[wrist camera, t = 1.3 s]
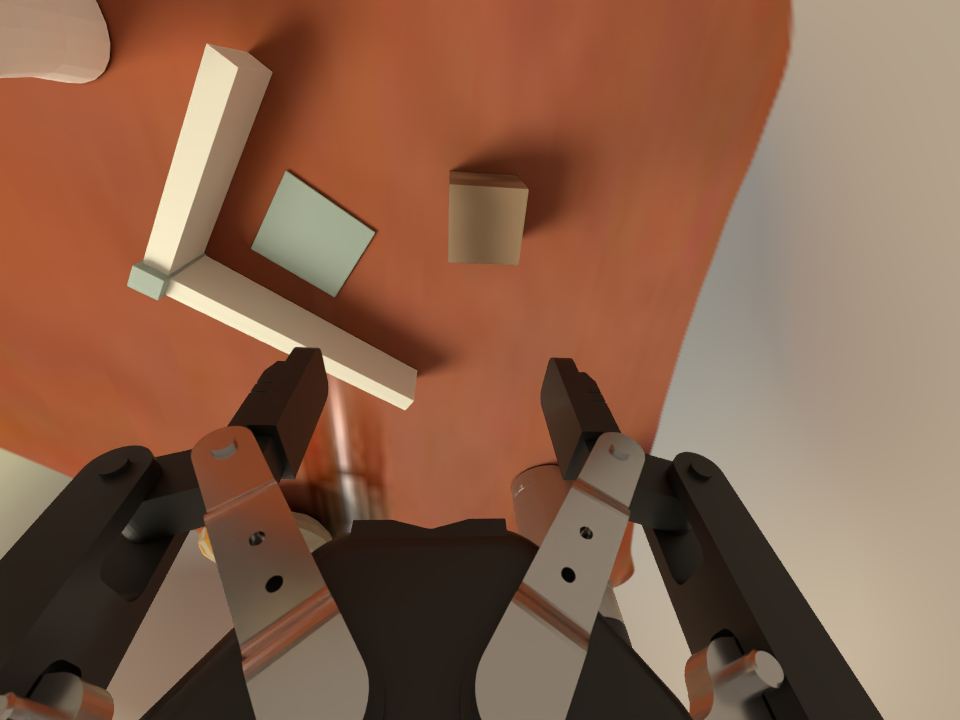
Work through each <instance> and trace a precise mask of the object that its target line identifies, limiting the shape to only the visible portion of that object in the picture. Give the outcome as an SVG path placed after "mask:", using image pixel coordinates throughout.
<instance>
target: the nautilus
mask: <svg viewBox="0 0 960 720" xmlns="http://www.w3.org/2000/svg"><path fill="white" fill-rule="evenodd" d="M292 514H293V517H294V519H295V521H296V523H297V525H298V527H299V529H300V531H301V533H302V535H303V537H304V540H305V542H306V544H307V546H308V548H309V550H310V552H311V553H312V552H313V551H314V550H315V549H317V548H318V547H320V546H322V545H323V544H325V543H326V542H328V541H330V540H332V537H331V534H330V533H329V532H328V531H327V530H326V529H325V528H324V527H323V526H322V525H321V524H320V523H319V522H318V521H317V520H315V519H314V518H312V517H310V516H308V515H306V514H301V513H296V512H292ZM198 545H199V547H200V549H201V551H202V553H203V555H204V556H206V557H207V558H209V559H210V560H212V561H214V562H216V561H215V557H214V554H213V550H212V547H211V543H210V540H209V536H208V533H207V529H206V527H205V528H204V529H203V530H202V531H201V532H200V535H199V540H198Z"/></svg>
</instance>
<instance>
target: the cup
mask: <svg viewBox="0 0 960 720" xmlns="http://www.w3.org/2000/svg"><path fill="white" fill-rule="evenodd" d="M109 59H110V39H109V35H108V30H107V25H106V22H105V20H104V17H103V15H102V13H101V10H100V8H99V6H98V3H97V2H96V0H0V78H16V77H36V78H42V79H49V80H55V81H61V82H67V83H86V82H89V81H92V80H96V79H97V78H98V77H99V76H100V75H101V74H102V73H103V72H104V71H105V69H106V66H107V64H108V62H109Z"/></svg>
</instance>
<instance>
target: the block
mask: <svg viewBox="0 0 960 720" xmlns="http://www.w3.org/2000/svg"><path fill="white" fill-rule="evenodd" d="M528 192H529V189H528V188H527V186H526V185H525V184H524V183H523V182H522V180H521V179H520V178H519V177H518V176H517V175H505V174H490V173H475V172H460V171H450V176H449V234H448V262H452V263H476V264H500V265H518V264H519V257H520V250H521V243H522V235H523V228H524V221H525V214H526V207H527V199H528Z"/></svg>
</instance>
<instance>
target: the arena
mask: <svg viewBox="0 0 960 720" xmlns="http://www.w3.org/2000/svg"><path fill="white" fill-rule="evenodd" d="M272 73H273V72H272V71H271V70H269V69H268V68H267V67H266V66H264V65H263V64H262V63H261V62H259V61H258V60H257V59H256V58H254V57H253V56H252V55H251V54H249V53H248V52H245V51H240V50H235V49H231V48H226V47H221V46H217V45H212V44H206V47H205V51H204V54H203V58H202V61H201V64H200V68H199V71H198V75H197V78H196V82H195V85H194V88H193V92H192V95H191V99H190V102H189V106H188V109H187V112H186V116H185V119H184V123H183V126H182V130H181V133H180V137H179V140H178V143H177V147H176V150H175V154H174V157H173V161H172V164H171V167H170V171H169V174H168V178H167V181H166V185H165V188H164V192H163V195H162V198H161V202H160V205H159V209H158V212H157V216H156V219H155V222H154V226H153V229H152V233H151V236H150V240H149V243H148V246H147V250H146V253H145V257H144V260H142V261H140V262H138V263H137V264H135V265H133V266H132V270H131V273H130V277H129V281H128V284H127V286H128V287H130V288H133V289H135V290H137V291H139V292H141V293H143V294H145V295H147V296H149V297H152V298H154V299H156V300H159V299H160V298H162V297H163V296H165V295H167V296H169V297H171V298H173V299H175V300H177V301H179V302H182V303H184V304H186V305H188V306H190V307H192V308H194V309H196V310H198V311H200V312H202V313H204V314H206V315H209V316H211V317H213V318H215V319H217V320H219V321H221V322H223V323H225V324H227V325H229V326H231V327H233V328H235V329H238V330H240V331H242V332H244V333H246V334H248V335H250V336H252V337H254V338H256V339H258V340H260V341H262V342H265V343H267V344H269V345H271V346H273V347H275V348H277V349H279V350H281V351H283V352H285V353H287V354H289V355H290V353H291V351H292V350H293V348H295V347H312V348H320V349H321V352H322V356H323V361H324V366H325V370H326V372H327V373H329V374H331V375H333V376H335V377H337V378H339V379H341V380H343V381H345V382H347V383H350V384H352V385H354V386H356V387H358V388H360V389H362V390H364V391H366V392H368V393H370V394H372V395H374V396H377V397H379V398H381V399H383V400H385V401H387V402H389V403H391V404H393V405H395V406H397V407H399V408H401V409H403V410H406V409H407V408H408V407H409V406H410V404H411V403H412V402H413V401H414V396H415V387H416V379H417V370H415V369H413V368H412V367H410V366H408V365H406V364H404V363H402V362H401V361H399V360H397V359H395V358H393V357H391V356H390V355H388V354H386V353H384V352H382V351H380V350H379V349H377V348H375V347H373V346H371V345H369V344H368V343H366V342H364V341H362V340H360V339H358V338H356V337H355V336H353V335H351V334H349V333H347V332H345V331H344V330H342V329H340V328H338V327H336V326H334V325H333V324H331V323H329V322H327V321H325V320H323V319H322V318H320V317H318V316H316V315H314V314H312V313H311V312H309V311H307V310H305V309H303V308H301V307H300V306H298V305H296V304H294V303H292V302H290V301H289V300H287V299H285V298H283V297H281V296H279V295H278V294H276V293H274V292H272V291H270V290H268V289H267V288H265V287H263V286H261V285H259V284H257V283H256V282H254V281H252V280H250V279H248V278H246V277H245V276H243V275H241V274H239V273H237V272H235V271H234V270H232V269H230V268H228V267H226V266H224V265H222V264H221V263H219V262H217V261H215V260H213V259H211V258H210V257H208V256H206V253H204V252H205V249H206V246H207V244H208V241H209V239H210V236H211V233H212V231H213V228H214V225H215V223H216V220H217V218H218V215H219V212H220V210H221V207H222V204H223V202H224V199H225V197H226V194H227V191H228V189H229V186H230V183H231V181H232V178H233V176H234V173H235V170H236V168H237V165H238V162H239V160H240V157H241V155H242V152H243V149H244V147H245V144H246V141H247V139H248V136H249V134H250V131H251V128H252V126H253V123H254V120H255V118H256V115H257V113H258V110H259V107H260V105H261V102H262V99H263V97H264V94H265V92H266V89H267V86H268V84H269V81H270V78H271V76H272ZM374 234H375V231H373V230H372V229H370V228H369V227H368V226H366V225H365V224H363V223H362V222H360V221H359V220H357V219H356V218H355V217H353V216H352V215H350V214H349V213H347V212H346V211H344V210H343V209H342V208H340V207H339V206H337V205H336V204H334V203H333V202H332V201H330V200H329V199H327V198H326V197H324V196H323V195H321V194H320V193H319V192H317V191H316V190H314V189H313V188H311V187H310V186H309V185H307V184H306V183H304V182H303V181H301V180H300V179H298V178H297V177H296V176H294V175H293V174H291V173H290V172H288V171H286V172H285V174H284V176H283V178H282V181H281V183H280V185H279V187H278V190H277V192H276V194H275V196H274V198H273V201H272V203H271V205H270V207H269V210H268V212H267V214H266V216H265V218H264V221H263V223H262V225H261V227H260V230H259V232H258V234H257V236H256V238H255V241H254V243H253V245H252V247H251V249H252V250H254V251H255V252H257V253H259V254H261V255H262V256H264V257H266V258H267V259H269V260H271V261H273V262H274V263H276V264H278V265H280V266H281V267H283V268H285V269H286V270H288V271H290V272H292V273H293V274H295V275H297V276H299V277H300V278H302V279H304V280H305V281H307V282H309V283H311V284H312V285H314V286H316V287H317V288H319V289H321V290H323V291H324V292H326V293H328V294H330V295H331V296H333V297H335V296H336V295H337V293H338V292H339V290H340V288H341V287H342V285H343V284H344V282H345V280H346V279H347V277H348V276H349V274H350V272H351V271H352V269H353V268H354V266H355V264H356V263H357V261H358V260H359V258H360V256H361V255H362V253H363V252H364V250H365V248H366V247H367V245H368V244H369V242H370V240H371V239H372V237H373V236H374Z"/></svg>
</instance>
